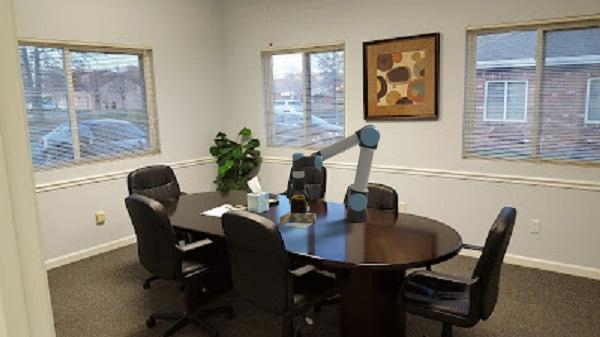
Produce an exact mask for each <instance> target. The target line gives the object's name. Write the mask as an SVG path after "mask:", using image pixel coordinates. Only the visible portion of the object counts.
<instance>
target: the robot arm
mask: <svg viewBox="0 0 600 337" xmlns="http://www.w3.org/2000/svg"><path fill="white" fill-rule="evenodd" d="M380 141H381V132H380V130H379V129H378V128H377V127H376V126H375V125H373V124H366V125H364V126H362V127H361V128H359V129H358V130H356V131H354V133H353V134H351V135H349V136H347V137H345V138H343V139H341V140H339V141H336V142H334V143H332V144H330V145H328V146H326V147H324V148H322V149H320V150H318V151H316V152H312V153H311V154H310V156H309V155H307V156H306V155H305V154H304V152H294V153H293V154H292V155H291V156H292V177H293V178H292V183H290V184H288V189H287V190H288V191H287V194H286V197H285V198H286V199H288V204H289V205H290V206H289V207H291V200H290V198H291V197H292V196H294V195H296V192H301V194H302V195H304V196H305V198H306V200H307V201H306V211H307V212H309V211H310V206H311V201H313V200H314V197H313V195H312V193H311V190H310V185H309V184H307V185H305V182H306V180H305V179H306V178H305V176H306V175H305V169H310V168H311V169H315V168H316V169H319V168H320V169H321V168H323V166H324V162H325V161H326V160H327V161H328V160H329V159H331V158H333V157H336V156H337V155H340V154H342V153H344V152H346V151H348V150H350V149H352V148H354V147H357V146H358V147H359V149H360V150H359V155H358V161H357V166H356V172H355V176H354V182H353V185H349V186H348V187H347V188H348V189H347V191H348V198H347V199H348V201H347V204H348V208H347V212H346V214H345V215H346V216H345V219H346V221H349V222H353V223H362V222H367V221H369V220H370V218H369V217H370V216H369V213H368V209H367V205H368V196H369V191H370V190H369V189H368V184H369V180H370V178H369V177H370V174H371V169H372V165H373V158H374V153H375V151H377V149H378V148H379V147H378V145H379V142H380ZM290 211H291V208H290Z"/></svg>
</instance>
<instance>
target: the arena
mask: <svg viewBox="0 0 600 337" xmlns="http://www.w3.org/2000/svg"><path fill="white" fill-rule="evenodd" d="M291 221H293V222H296V221H298V222H307V223H313V224H316V223H317V214H316V213H311V212H310V213H309V212H306V213H305V214H303V213H291V210H290V211H289V212H287V213H284V214H283V215H281V216H280V217H279V226H280V227H283V226H285V225H287V224H288V223H290V222H291Z"/></svg>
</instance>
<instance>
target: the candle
mask: <svg viewBox="0 0 600 337" xmlns="http://www.w3.org/2000/svg"><path fill="white" fill-rule="evenodd" d="M290 200H291V207H290V206H289V207H290V208H291V210H290V211H291V213H303V214H305V213H308V211H306V201H307V200H306V198H305V196H304V195H303V194H294V196H292V197H291V198H290Z"/></svg>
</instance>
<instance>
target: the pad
mask: <svg viewBox="0 0 600 337" xmlns="http://www.w3.org/2000/svg"><path fill="white" fill-rule="evenodd" d="M313 224H314V223H310V222H301V221H294V222H293V223H291V224H289V225H288V226H287V227H288V228H295V229H303V230H305V229H307V228H309V227H310V226H312V225H313Z"/></svg>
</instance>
